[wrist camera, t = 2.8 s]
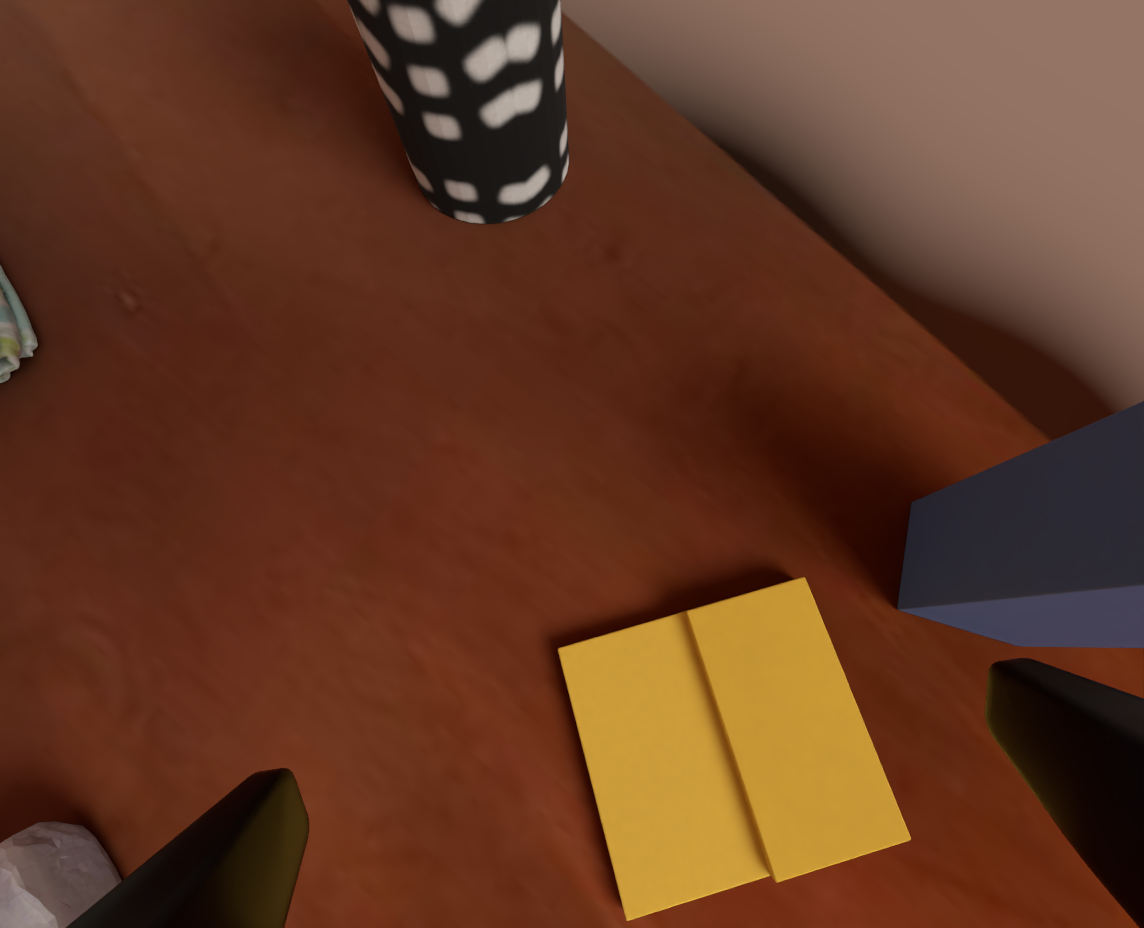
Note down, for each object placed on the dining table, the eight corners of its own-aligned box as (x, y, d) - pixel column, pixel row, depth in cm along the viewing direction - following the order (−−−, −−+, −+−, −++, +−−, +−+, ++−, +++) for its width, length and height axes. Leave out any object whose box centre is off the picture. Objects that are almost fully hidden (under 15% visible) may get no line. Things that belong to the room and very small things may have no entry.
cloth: (895, 826, 19) (915, 839, 18) (625, 912, 19) (627, 930, 18) (795, 579, 22) (807, 575, 21) (558, 647, 22) (555, 648, 20)
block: (1018, 646, 21) (1558, 654, 9) (896, 609, 22) (1257, 573, 10) (1026, 534, 22) (1508, 415, 11) (910, 501, 23) (1245, 355, 11)
